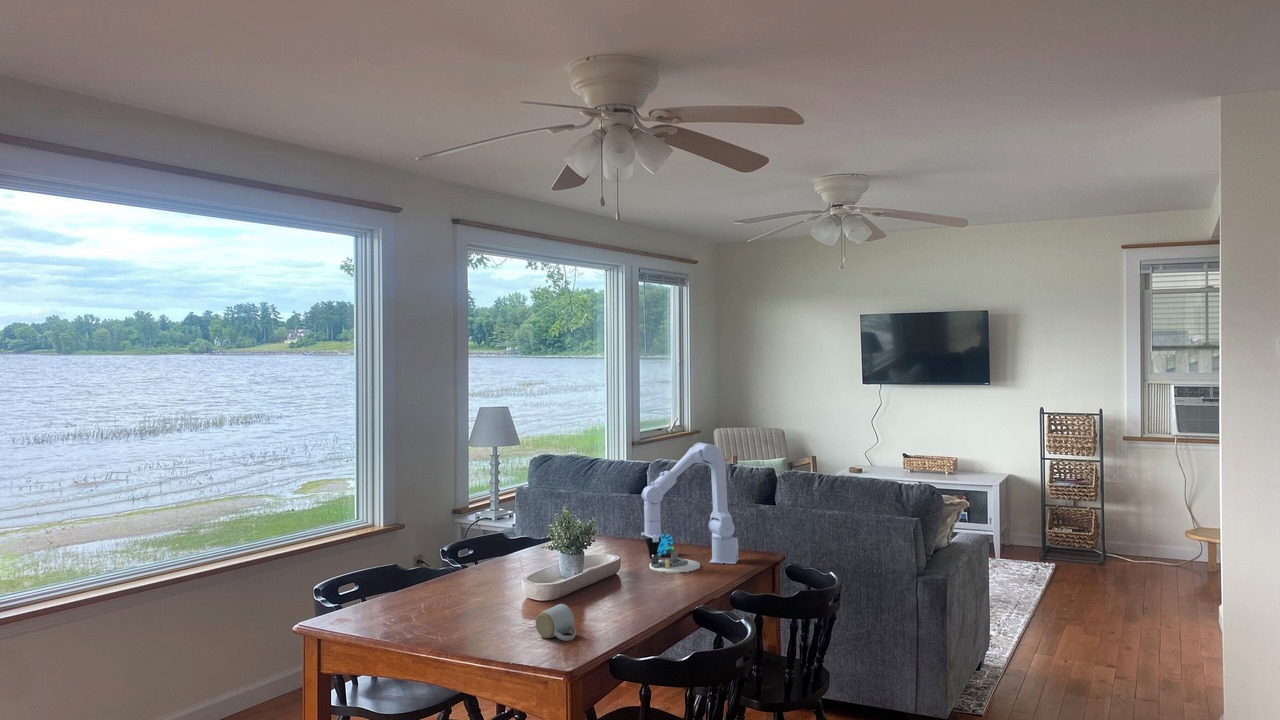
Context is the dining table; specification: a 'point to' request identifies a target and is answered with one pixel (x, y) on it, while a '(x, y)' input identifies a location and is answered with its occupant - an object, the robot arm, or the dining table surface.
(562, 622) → the ceramic mug
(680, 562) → the crank handle
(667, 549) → the gear
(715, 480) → the robot arm
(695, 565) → the base plate
